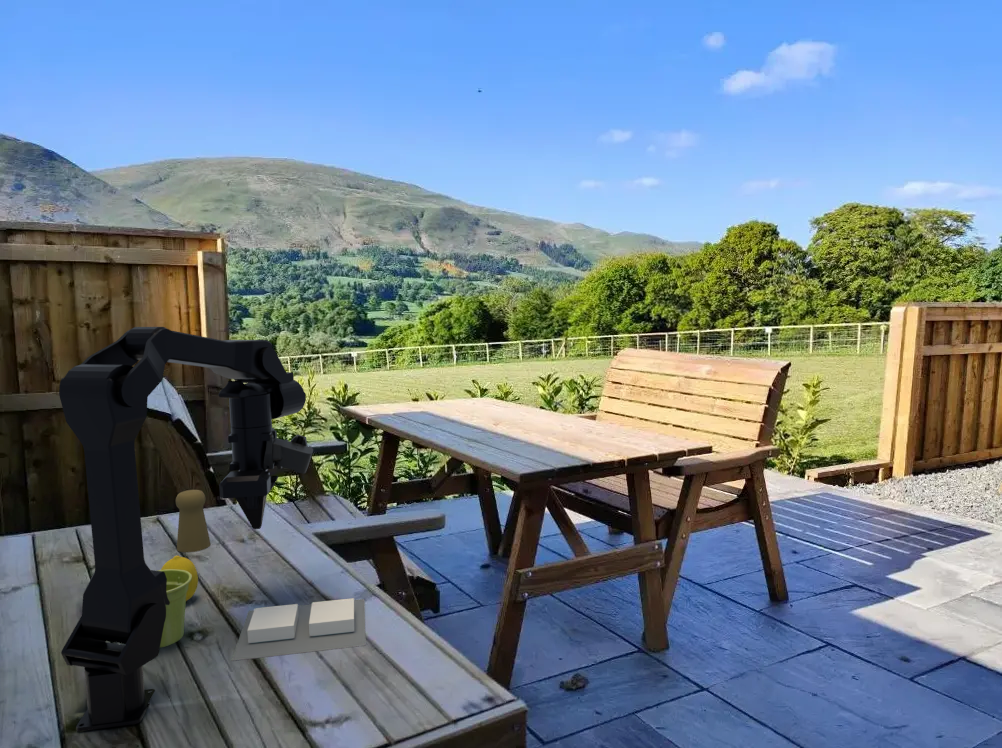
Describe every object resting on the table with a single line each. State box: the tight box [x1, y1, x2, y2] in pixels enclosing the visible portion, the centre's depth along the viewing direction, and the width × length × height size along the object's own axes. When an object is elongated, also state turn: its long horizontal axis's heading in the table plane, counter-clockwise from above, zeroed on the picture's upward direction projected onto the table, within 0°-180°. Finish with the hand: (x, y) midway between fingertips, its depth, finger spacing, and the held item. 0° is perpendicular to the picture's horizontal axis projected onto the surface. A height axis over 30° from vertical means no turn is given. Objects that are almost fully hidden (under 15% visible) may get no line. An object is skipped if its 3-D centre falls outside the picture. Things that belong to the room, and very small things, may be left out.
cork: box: [175, 489, 211, 553], centre depth 134 cm, size 6×6×11 cm
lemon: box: [160, 555, 199, 602], centre depth 107 cm, size 6×6×8 cm
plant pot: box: [156, 569, 192, 649], centre depth 96 cm, size 9×9×9 cm
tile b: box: [309, 597, 355, 636], centre depth 99 cm, size 2×6×7 cm
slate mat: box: [230, 598, 367, 662], centre depth 99 cm, size 15×17×1 cm
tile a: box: [247, 603, 299, 643], centre depth 98 cm, size 2×6×7 cm
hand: (257, 528), depth 104 cm, fingers closed
